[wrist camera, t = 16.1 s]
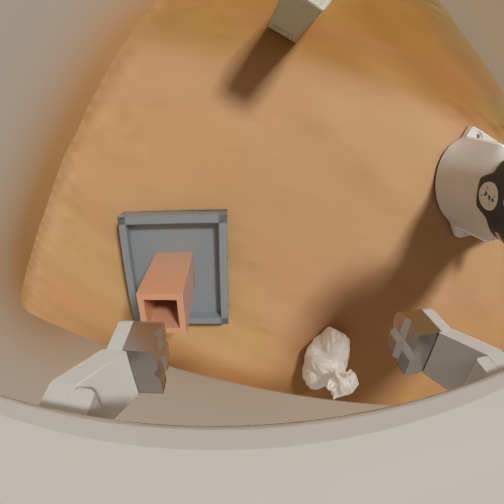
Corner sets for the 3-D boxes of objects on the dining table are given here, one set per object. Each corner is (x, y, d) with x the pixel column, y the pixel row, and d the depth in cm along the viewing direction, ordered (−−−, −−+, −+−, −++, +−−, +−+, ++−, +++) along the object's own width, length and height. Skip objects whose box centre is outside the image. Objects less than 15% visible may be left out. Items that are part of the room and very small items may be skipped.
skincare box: (295, 44, 32) (323, 14, 21) (265, 26, 31) (281, -11, 20) (320, 12, 31) (353, -23, 19) (291, -5, 29) (315, -47, 18)
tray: (226, 209, 40) (226, 214, 38) (228, 313, 46) (228, 323, 44) (123, 212, 39) (117, 217, 37) (138, 313, 45) (134, 322, 43)
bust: (306, 364, 55) (350, 402, 48) (280, 376, 49) (328, 420, 43) (336, 313, 51) (387, 352, 44) (312, 322, 45) (369, 368, 38)
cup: (192, 252, 41) (182, 294, 31) (195, 285, 43) (187, 333, 33) (156, 252, 41) (136, 293, 31) (160, 285, 43) (143, 332, 32)
